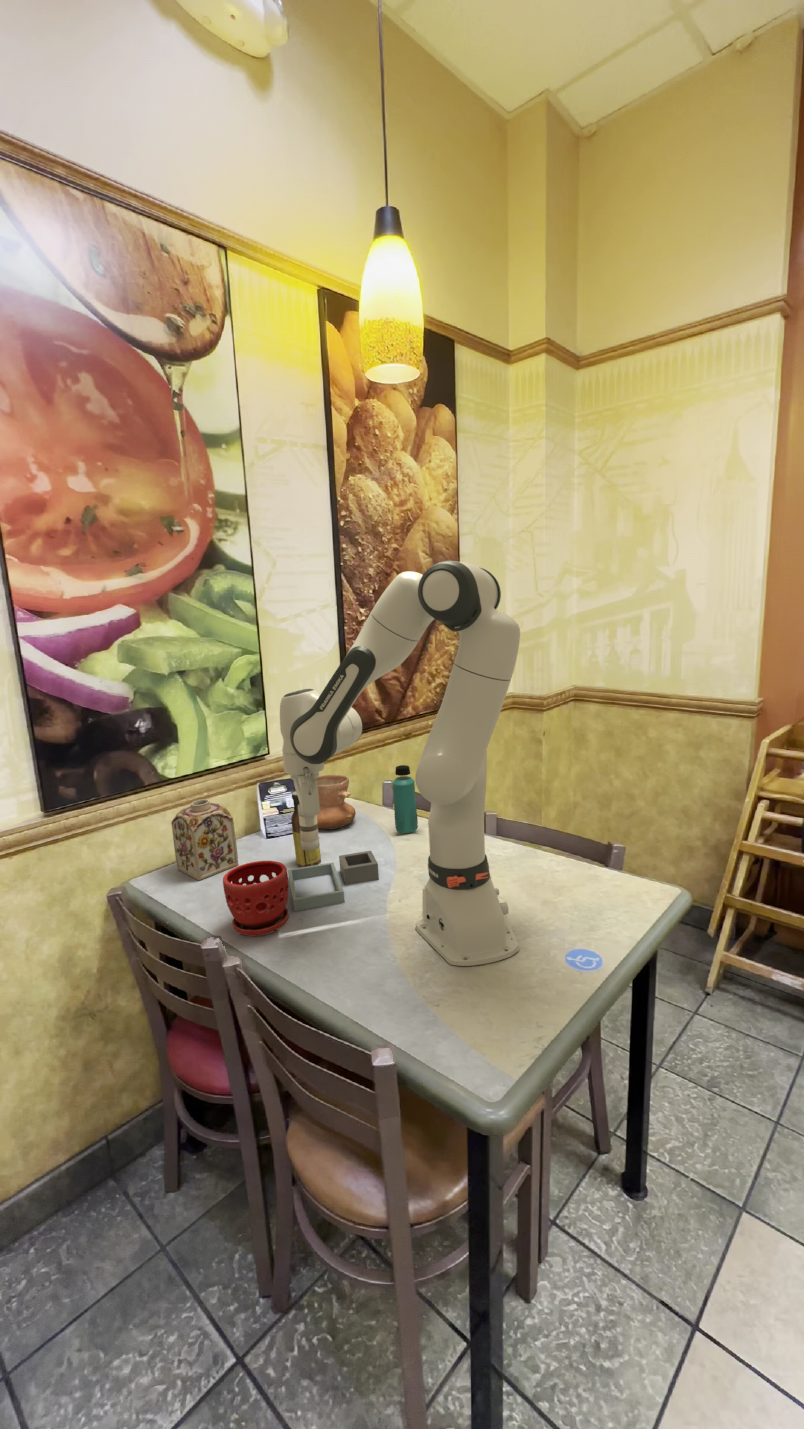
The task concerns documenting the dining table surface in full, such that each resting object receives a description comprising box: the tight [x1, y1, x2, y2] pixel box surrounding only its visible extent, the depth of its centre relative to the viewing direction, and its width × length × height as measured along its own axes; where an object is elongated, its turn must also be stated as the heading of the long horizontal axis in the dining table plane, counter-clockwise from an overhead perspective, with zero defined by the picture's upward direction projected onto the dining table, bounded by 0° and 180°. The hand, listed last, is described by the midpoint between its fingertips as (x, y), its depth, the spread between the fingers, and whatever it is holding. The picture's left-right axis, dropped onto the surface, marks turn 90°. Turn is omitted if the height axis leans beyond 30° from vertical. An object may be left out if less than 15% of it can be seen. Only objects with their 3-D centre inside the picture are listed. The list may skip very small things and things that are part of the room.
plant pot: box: [222, 860, 290, 937], centre depth 127 cm, size 13×13×12 cm
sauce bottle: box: [290, 790, 322, 868], centre depth 154 cm, size 6×6×20 cm
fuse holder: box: [338, 850, 380, 886], centre depth 146 cm, size 8×8×5 cm
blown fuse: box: [298, 804, 320, 851], centre depth 137 cm, size 4×4×10 cm
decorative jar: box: [170, 798, 239, 881], centre depth 157 cm, size 12×12×18 cm
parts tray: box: [287, 862, 346, 912], centre depth 140 cm, size 16×11×4 cm
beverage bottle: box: [392, 764, 419, 834], centre depth 171 cm, size 6×7×20 cm
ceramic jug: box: [316, 774, 357, 830], centre depth 183 cm, size 18×14×14 cm
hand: (308, 821), depth 137 cm, fingers closed on blown fuse, 4 cm apart
